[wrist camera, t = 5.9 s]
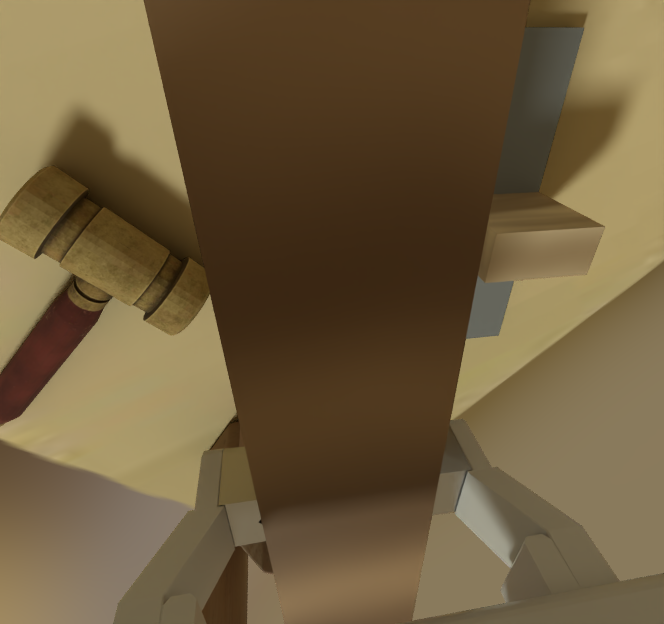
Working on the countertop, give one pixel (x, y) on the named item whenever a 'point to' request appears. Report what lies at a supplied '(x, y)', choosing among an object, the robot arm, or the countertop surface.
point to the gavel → (87, 278)
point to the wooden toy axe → (234, 562)
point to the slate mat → (527, 143)
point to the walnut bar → (341, 259)
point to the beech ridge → (536, 239)
